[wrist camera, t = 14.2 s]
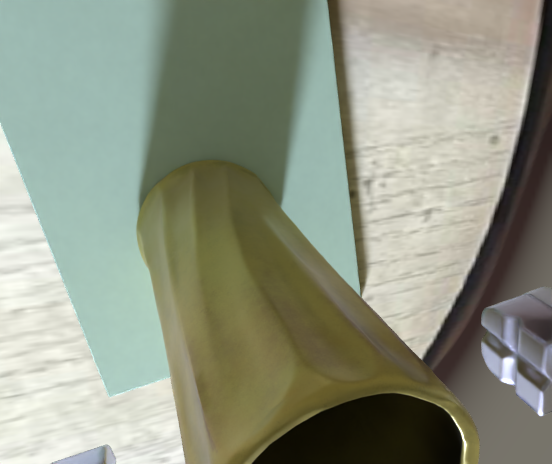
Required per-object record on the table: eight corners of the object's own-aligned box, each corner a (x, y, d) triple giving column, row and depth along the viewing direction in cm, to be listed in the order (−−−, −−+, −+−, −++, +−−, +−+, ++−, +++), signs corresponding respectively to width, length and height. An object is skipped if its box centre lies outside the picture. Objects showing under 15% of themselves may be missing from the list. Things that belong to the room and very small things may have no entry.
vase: (301, 197, 22) (559, 410, 9) (235, 309, 23) (386, 644, 10) (178, 132, 19) (299, 302, 7) (111, 262, 20) (101, 629, 8)
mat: (-122, -193, 14) (-129, -200, 14) (297, -225, 17) (301, -232, 16) (109, 391, 23) (108, 398, 22) (359, 309, 26) (363, 313, 25)
